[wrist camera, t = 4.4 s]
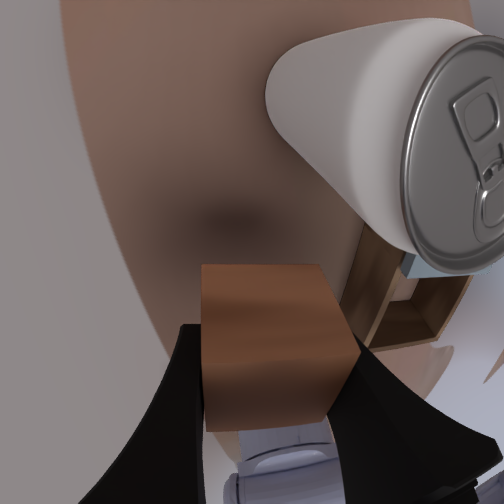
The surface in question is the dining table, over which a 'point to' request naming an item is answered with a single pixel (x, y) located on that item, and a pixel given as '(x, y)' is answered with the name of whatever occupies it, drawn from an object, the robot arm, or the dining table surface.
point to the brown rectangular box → (400, 312)
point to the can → (404, 132)
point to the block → (271, 346)
